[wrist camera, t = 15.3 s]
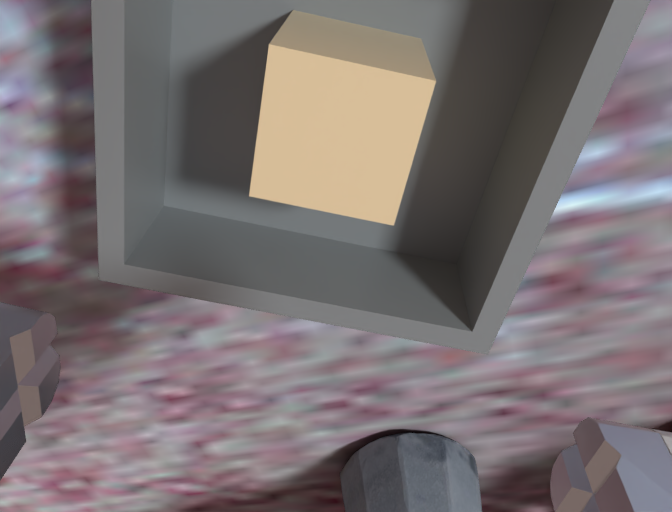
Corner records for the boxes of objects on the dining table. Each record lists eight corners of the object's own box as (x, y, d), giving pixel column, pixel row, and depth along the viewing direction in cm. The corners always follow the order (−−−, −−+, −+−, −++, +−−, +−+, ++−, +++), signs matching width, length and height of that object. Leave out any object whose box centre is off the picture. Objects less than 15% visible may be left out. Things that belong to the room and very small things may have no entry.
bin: (611, -92, 20) (691, -89, 15) (467, 273, 29) (487, 354, 24) (159, -203, 19) (84, -239, 14) (148, 210, 28) (98, 280, 23)
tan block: (421, 38, 22) (436, 81, 17) (389, 158, 25) (393, 225, 20) (293, 9, 22) (269, 44, 17) (274, 134, 24) (248, 196, 19)
